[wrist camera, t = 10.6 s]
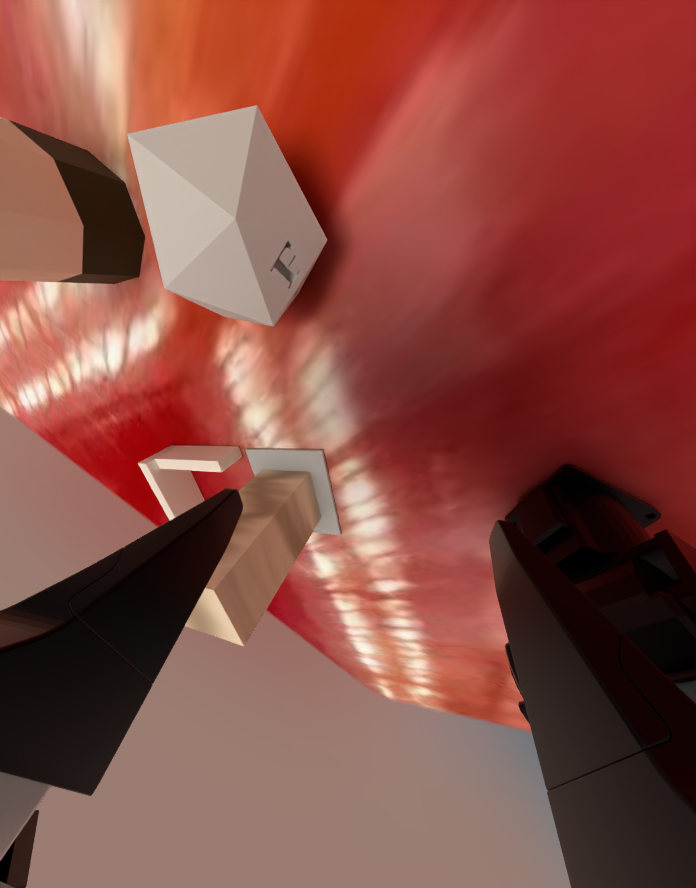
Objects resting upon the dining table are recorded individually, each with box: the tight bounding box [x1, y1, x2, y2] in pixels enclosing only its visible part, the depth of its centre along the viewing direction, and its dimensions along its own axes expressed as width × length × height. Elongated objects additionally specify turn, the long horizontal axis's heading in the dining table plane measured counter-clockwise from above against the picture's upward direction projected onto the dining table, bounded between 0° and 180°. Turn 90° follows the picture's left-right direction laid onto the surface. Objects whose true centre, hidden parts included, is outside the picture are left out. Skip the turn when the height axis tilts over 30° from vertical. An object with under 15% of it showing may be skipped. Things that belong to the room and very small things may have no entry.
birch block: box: [185, 469, 321, 646], centre depth 23 cm, size 6×6×12 cm
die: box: [127, 105, 327, 326], centre depth 15 cm, size 8×9×10 cm
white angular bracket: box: [138, 445, 242, 520], centre depth 30 cm, size 10×10×4 cm
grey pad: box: [245, 448, 342, 536], centre depth 28 cm, size 8×10×1 cm
